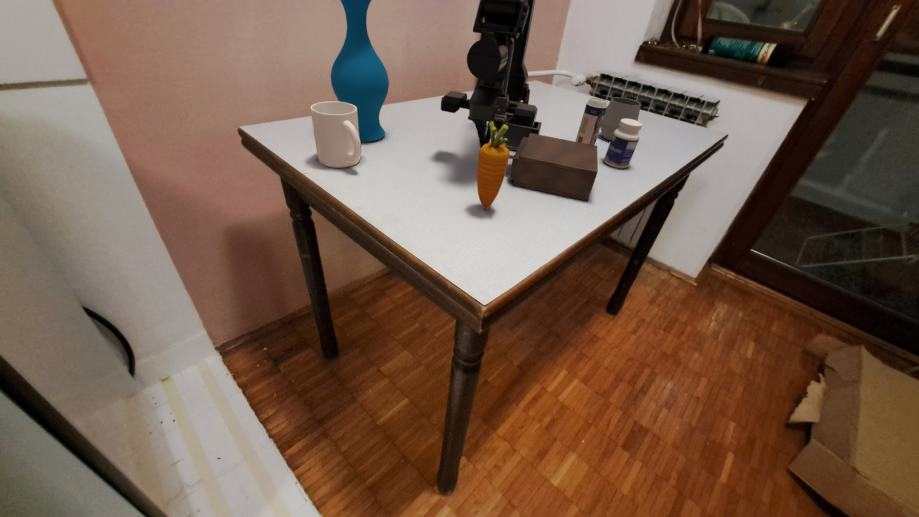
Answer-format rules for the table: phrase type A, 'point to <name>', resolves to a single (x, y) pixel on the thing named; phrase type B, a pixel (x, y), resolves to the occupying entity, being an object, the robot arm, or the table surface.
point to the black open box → (519, 132)
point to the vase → (360, 72)
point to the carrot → (492, 166)
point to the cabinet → (557, 166)
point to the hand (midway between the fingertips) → (483, 149)
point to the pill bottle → (623, 143)
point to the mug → (336, 133)
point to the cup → (618, 114)
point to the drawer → (515, 156)
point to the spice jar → (591, 121)
